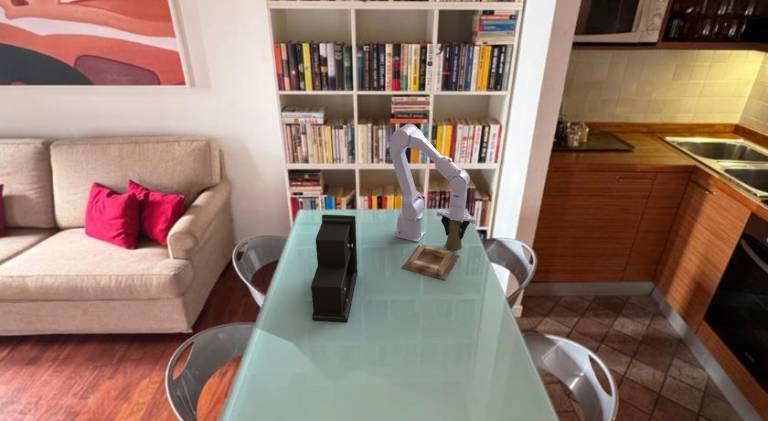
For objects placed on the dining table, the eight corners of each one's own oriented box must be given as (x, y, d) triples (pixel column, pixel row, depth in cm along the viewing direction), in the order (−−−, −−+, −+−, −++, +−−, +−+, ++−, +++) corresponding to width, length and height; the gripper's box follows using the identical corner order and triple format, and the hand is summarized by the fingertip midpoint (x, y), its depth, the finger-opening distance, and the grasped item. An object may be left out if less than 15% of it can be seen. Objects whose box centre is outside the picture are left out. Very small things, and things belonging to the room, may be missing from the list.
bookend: (348, 323, 119) (344, 256, 108) (311, 321, 120) (304, 254, 109) (358, 274, 140) (356, 214, 129) (326, 273, 141) (322, 213, 130)
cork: (462, 250, 153) (465, 224, 148) (446, 250, 153) (448, 224, 148) (460, 241, 159) (463, 216, 153) (444, 241, 159) (446, 216, 154)
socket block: (401, 268, 143) (401, 262, 142) (418, 245, 156) (418, 240, 155) (445, 280, 137) (445, 274, 136) (459, 256, 150) (459, 250, 148)
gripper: (480, 203, 148) (476, 235, 154) (442, 195, 153) (439, 226, 160) (475, 211, 142) (471, 244, 149) (435, 203, 148) (433, 235, 154)
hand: (454, 235), depth 154 cm, fingers closed on cork, 5 cm apart
